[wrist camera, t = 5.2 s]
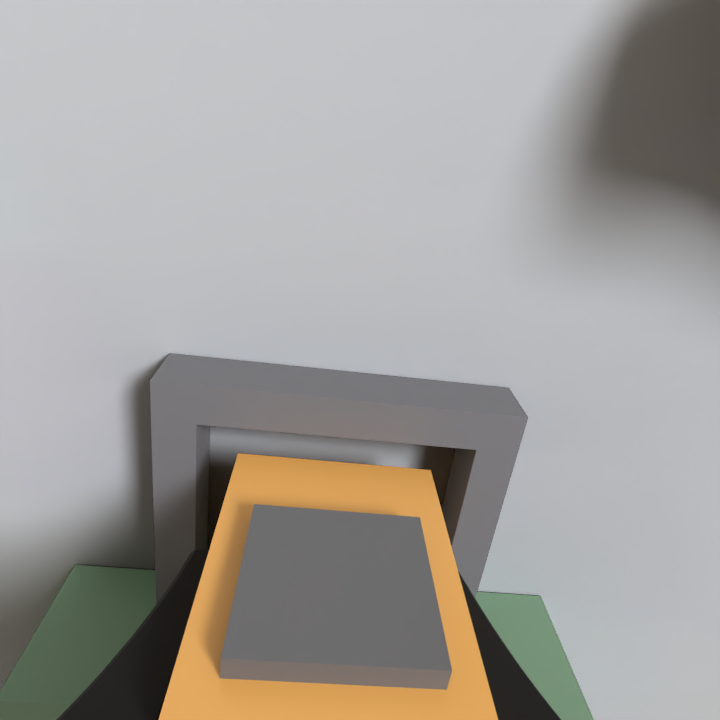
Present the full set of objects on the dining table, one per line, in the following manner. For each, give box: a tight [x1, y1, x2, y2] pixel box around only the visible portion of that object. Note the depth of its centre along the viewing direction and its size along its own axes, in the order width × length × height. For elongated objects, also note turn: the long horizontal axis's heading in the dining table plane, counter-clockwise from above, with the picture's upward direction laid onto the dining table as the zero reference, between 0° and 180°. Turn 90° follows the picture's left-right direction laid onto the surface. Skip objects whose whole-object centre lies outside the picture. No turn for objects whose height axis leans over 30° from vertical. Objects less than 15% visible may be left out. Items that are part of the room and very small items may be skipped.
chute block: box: [159, 453, 498, 720], centre depth 11 cm, size 5×4×6 cm
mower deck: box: [0, 353, 594, 720], centre depth 14 cm, size 15×14×6 cm
